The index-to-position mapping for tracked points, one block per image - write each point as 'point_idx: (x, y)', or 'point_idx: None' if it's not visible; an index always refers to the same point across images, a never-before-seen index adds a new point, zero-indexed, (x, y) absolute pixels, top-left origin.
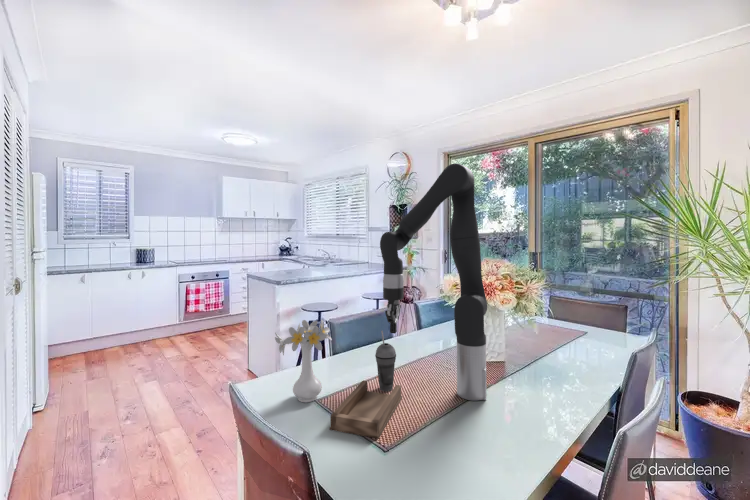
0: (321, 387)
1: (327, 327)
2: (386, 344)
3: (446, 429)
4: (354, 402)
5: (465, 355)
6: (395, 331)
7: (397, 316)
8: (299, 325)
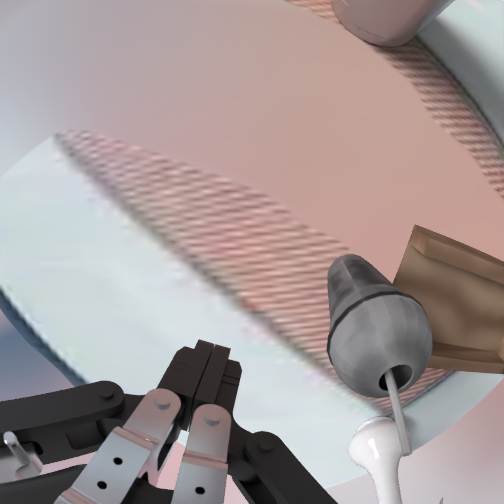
0: (388, 427)
1: None
2: (358, 370)
3: None
4: (450, 349)
5: None
6: (227, 356)
7: (133, 429)
8: None
